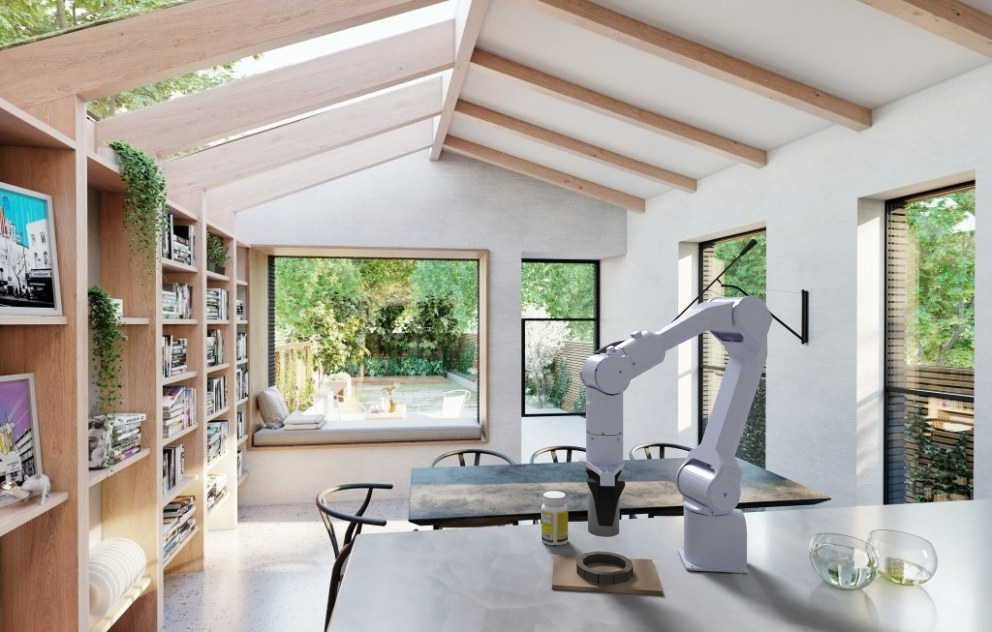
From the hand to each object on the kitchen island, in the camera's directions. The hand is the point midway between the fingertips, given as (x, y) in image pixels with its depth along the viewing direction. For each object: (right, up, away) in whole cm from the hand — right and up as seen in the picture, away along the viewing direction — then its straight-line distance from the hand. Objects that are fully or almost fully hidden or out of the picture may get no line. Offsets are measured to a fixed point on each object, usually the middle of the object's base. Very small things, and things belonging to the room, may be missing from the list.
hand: (604, 519), depth 92 cm
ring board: (0, -9, 0) cm, 9 cm away
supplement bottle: (-6, -9, +14) cm, 18 cm away
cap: (0, -2, 0) cm, 2 cm away
